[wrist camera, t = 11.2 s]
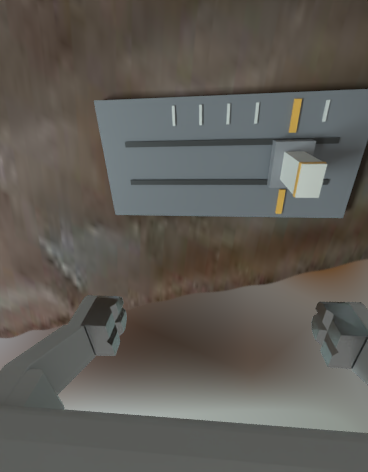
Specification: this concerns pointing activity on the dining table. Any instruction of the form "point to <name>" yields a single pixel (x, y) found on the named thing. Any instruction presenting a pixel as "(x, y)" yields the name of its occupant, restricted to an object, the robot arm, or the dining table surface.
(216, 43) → the dining table surface
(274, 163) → the fader
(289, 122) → the console
